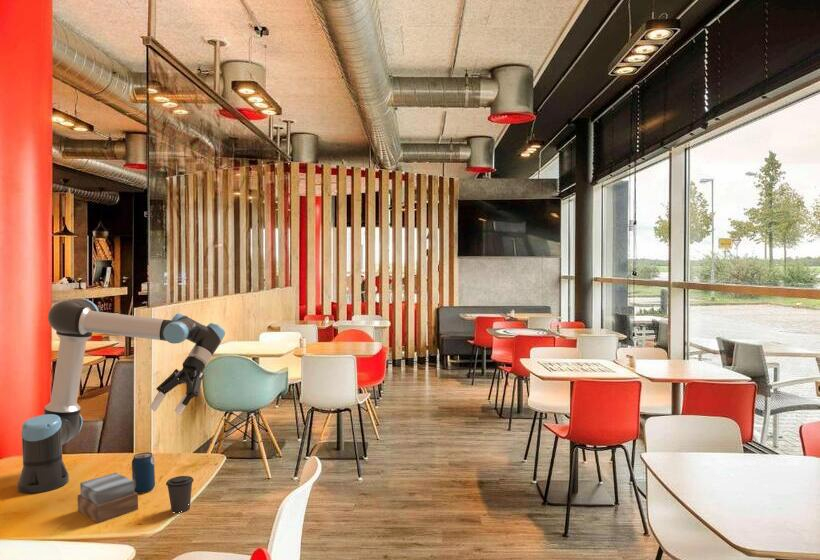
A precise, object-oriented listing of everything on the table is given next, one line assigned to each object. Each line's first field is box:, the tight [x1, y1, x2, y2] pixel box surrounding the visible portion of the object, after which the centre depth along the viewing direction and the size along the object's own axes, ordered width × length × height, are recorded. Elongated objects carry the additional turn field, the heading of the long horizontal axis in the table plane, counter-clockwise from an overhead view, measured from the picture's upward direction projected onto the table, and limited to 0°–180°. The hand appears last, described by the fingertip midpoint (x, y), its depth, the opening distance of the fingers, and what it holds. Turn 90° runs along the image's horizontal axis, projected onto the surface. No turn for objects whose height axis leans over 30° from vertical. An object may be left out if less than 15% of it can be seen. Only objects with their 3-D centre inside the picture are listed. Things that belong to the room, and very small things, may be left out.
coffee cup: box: [165, 475, 195, 514], centre depth 183 cm, size 8×8×10 cm
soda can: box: [131, 452, 156, 494], centre depth 200 cm, size 7×7×12 cm
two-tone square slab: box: [77, 472, 139, 524], centre depth 184 cm, size 14×12×9 cm
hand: (164, 411), depth 207 cm, fingers open, 13 cm apart
